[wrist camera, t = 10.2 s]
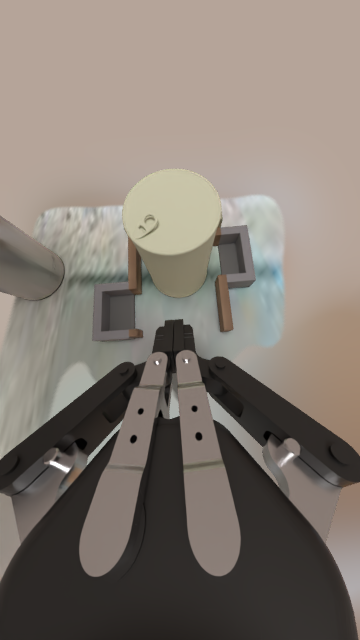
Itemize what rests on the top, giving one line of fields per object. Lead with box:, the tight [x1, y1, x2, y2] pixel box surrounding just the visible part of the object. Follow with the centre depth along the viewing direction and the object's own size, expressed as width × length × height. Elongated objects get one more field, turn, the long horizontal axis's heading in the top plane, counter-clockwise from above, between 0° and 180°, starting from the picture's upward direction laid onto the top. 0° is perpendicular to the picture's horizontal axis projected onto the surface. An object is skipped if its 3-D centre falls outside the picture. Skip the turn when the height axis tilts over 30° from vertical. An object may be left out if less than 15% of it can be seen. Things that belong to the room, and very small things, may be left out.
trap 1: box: [218, 225, 256, 288], centre depth 23 cm, size 4×9×2 cm, turn 4°
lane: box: [124, 212, 233, 338], centre depth 23 cm, size 14×17×4 cm
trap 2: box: [92, 282, 135, 341], centre depth 23 cm, size 5×8×2 cm, turn 4°
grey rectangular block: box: [122, 169, 221, 298], centre depth 19 cm, size 9×9×12 cm
